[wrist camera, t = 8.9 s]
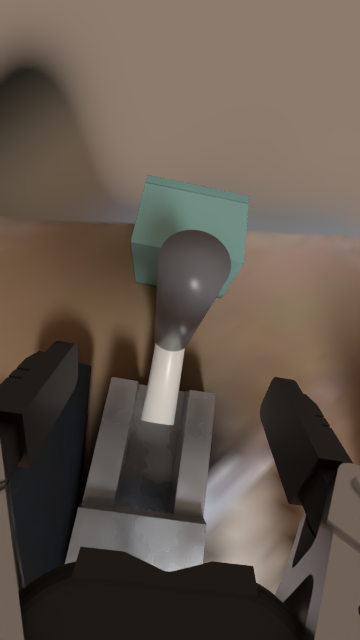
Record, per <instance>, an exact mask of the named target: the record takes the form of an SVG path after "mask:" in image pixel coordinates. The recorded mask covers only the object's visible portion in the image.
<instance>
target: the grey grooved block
mask: <svg viewBox="0 0 360 640" xmlns="http://www.w3.org/2000/svg"><path fill="white" fill-rule="evenodd" d="M146 391H147V385H141V384H140V383H139V382H138V381H134V380H128V379H122V378H116V377H112V378H111V382H110V386H109V390H108V395H107V399H106V403H105V407H104V412H103V416H102V420H101V425H100V429H99V433H98V437H97V442H96V446H95V450H94V454H93V459H92V463H91V467H90V471H89V476H88V480H87V484H86V488H85V493H84V497H83V501H82V503H81V504H80V506H79V507H78V510H77V515H76V519H75V523H74V527H73V531H72V536H71V540H70V544H69V548H68V552H67V557H66V561H65V564H67V563H71V562H75V561H76V560H77V557H78V554H79V550H80V547H89V548H98V549H107V550H116V551H124V552H126V553H128V554H131V555H133V556H135V557H137V558H139V559H141V560H143V561H145V562H147V563H149V564H151V565H153V566H156V567H158V568H160V569H162V570H164V571H168V572H171V571H176V570H180V569H184V568H188V567H192V566H196V565H200V564H203V555H204V545H205V535H206V523H205V520H204V518H203V517H204V507H205V497H206V487H207V477H208V467H209V457H210V447H211V437H212V427H213V417H214V407H215V397H216V394H213V393H207V392H201V391H195V390H188V391H185V392H183V391H179V392H178V399H177V405H176V412H175V419H174V425H165V424H158V423H152V422H147V421H143V420H141V417H142V412H143V407H144V401H145V396H146Z"/></svg>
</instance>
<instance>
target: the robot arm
mask: <svg viewBox="0 0 360 640" xmlns="http://www.w3.org/2000/svg"><path fill="white" fill-rule="evenodd" d="M77 379H78V345H77V344H74V343H68V342H62V341H55V342H54V343H53V344H52V346H51V347H50V348H49V349H48V350H47V351H46V352H41V351H39V352H37V353H35V354H33V355H31V356H29V357H27V358H26V359H25V360H24V361H23V362H22V363H21V364H20V365H19V366H18V367H17V369H16V370H14V371H13V372H12V373H11V374H10V375H9V378H6V379H5V380H4V381H3V382H2V383H1V384H0V640H360V466H358V465H356V464H353V462H352V461H351V459H350V457H349V456H348V454H347V453H346V451H345V449H344V448H343V446H342V445H341V443H340V441H339V440H338V438H337V436H336V435H335V433H334V432H333V430H332V428H330V427H329V426H330V425H329V424H328V422H327V420H326V419H325V418H324V416H323V414H322V412H321V411H320V409H319V408H318V406H317V405H316V404H315V403H314V402H313V401H312V400H311V399H310V398H309V397H308V396H307V395H306V394H303V393H302V391H301V389H300V388H299V386H298V384H297V383H296V381H294V380H291V379H285V378H278V377H275V378H273V379H272V381H271V383H270V386H269V388H268V390H267V393H266V395H265V397H264V399H263V402H262V404H261V408H260V418H261V422H262V425H263V428H264V431H265V434H266V437H267V440H268V443H269V446H270V449H271V452H272V455H273V458H274V461H275V464H276V467H277V470H278V473H279V476H280V479H281V482H282V485H283V488H284V491H285V494H286V497H287V500H288V503H289V504H294V505H302V506H303V508H304V510H305V514H304V515H303V517H302V519H301V522H300V526H299V529H298V532H297V536H296V539H295V542H294V546H293V549H292V552H291V556H290V559H289V562H288V566H287V569H286V572H285V574H284V577H283V579H282V581H281V583H280V585H279V587H278V589H277V591H276V593H275V595H274V594H273V593H271V592H270V591H269V590H267V589H266V588H264V587H263V586H261V585H260V584H258V583H256V580H255V574H254V569H253V566H247V565H238V564H229V563H220V562H208V563H204V564H200V565H196V566H192V567H188V568H184V569H180V570H176V571H171V572H168V571H164V570H162V569H160V568H158V567H156V566H153V565H151V564H149V563H147V562H145V561H143V560H141V559H139V558H137V557H135V556H133V555H131V554H128V553H126V552H124V551H116V550H107V549H98V548H89V547H80V550H79V554H78V557H77V560H76V561H75V562H71V563H67V564H64V565H62V566H59V567H56V568H54V569H52V570H50V571H48V572H47V573H45V574H43V575H41V576H40V577H38V578H37V579H35V580H34V581H32V582H31V583H30V584H28V585H27V586H26V587H25V585H24V578H23V571H22V565H21V559H20V553H19V546H18V540H17V533H16V526H15V519H14V511H13V504H12V497H11V490H10V483H9V478H10V477H11V475H12V473H13V472H14V470H15V469H16V467H23V468H30V466H31V465H32V463H33V461H34V459H35V458H36V456H37V454H38V452H39V451H40V449H41V447H42V445H43V444H44V442H45V440H46V438H47V437H48V435H49V433H50V431H51V429H52V428H53V426H54V424H55V422H56V421H57V419H58V417H59V415H60V414H61V412H62V410H63V408H64V407H65V405H66V403H67V401H68V400H69V398H70V396H71V394H72V393H73V391H74V389H75V386H76V383H77Z"/></svg>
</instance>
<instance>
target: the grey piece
mask: <svg viewBox="0 0 360 640" xmlns="http://www.w3.org/2000/svg"><path fill="white" fill-rule="evenodd" d="M230 271H231V259H230V255H229V253H228V251H227V249H226V247H225V246H224V244H223V243H222V242H221V241H220V240H219V239H217V238H216V237H215V236H213V235H211V234H209V233H207V232H204V231H200V230H184V231H180V232H177V233H175V234H173V235H171V236H170V237H169V238H168V239H167V240H166V241H165V242H164V243H163V245H162V246H161V248H160V251H159V256H158V273H157V294H156V315H155V336H154V343H155V348H154V353H153V359H152V364H151V369H150V375H149V380H148V385H147V391H146V396H145V401H144V407H143V412H142V417H141V420H143V421H147V422H152V423H158V424H165V425H174V419H175V412H176V405H177V399H178V392H179V385H180V378H181V372H182V365H183V358H184V351H185V347H186V346H187V344H188V343H189V341H190V339H191V338H192V336H193V334H194V333H195V331H196V329H197V328H198V326H199V325H200V323H201V321H202V320H203V318H204V316H205V315H206V313H207V311H208V310H209V308H210V307H211V305H212V303H213V302H214V300H215V298H216V297H217V295H218V293H219V292H220V290H221V289H222V287H223V285H224V284H225V282H226V280H227V279H228V277H229V274H230Z"/></svg>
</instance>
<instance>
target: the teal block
mask: <svg viewBox="0 0 360 640" xmlns="http://www.w3.org/2000/svg"><path fill="white" fill-rule="evenodd" d="M248 202H249V196H247V195H242V194H237V193H232V192H227V191H222V190H218V189H213V188H208V187H204V186H199V185H194V184H189V183H184V182H179V181H175V180H170V179H165V178H160V177H156V176H151V175H147V180H146V183H145V187H144V191H143V195H142V199H141V203H140V207H139V211H138V215H137V218H136V222H135V226H134V230H133V234H132V238H131V249H132V257H133V265H134V273H135V280H136V283H141V284H146V285H152V286H157V273H158V256H159V251H160V248H161V246H162V245H163V243H164V242H165V241H166V240H167V239H168V238H169V237H170V236H171V235H173V234H175V233H177V232H180V231H184V230H200V231H204V232H207V233H209V234H211V235H213V236H215V237H216V238H217V239H219V240H220V241H221V242H222V243H223V244H224V246H225V247H226V249H227V251H228V253H229V255H230V259H231V271H230V274H229V277H228V279H227V280H226V282H225V284H224V285H223V287H222V289H221V290H220V292H219V293H218V295H217V297H216V298H221V297H222V296H223V294H224V293H225V291H226V290H227V288H228V287H229V285H230V284H231V282H232V280H233V279H234V277H235V276H236V274H237V273H238V271H239V270H240V268H241V267H242V265H243V264H244V253H245V240H246V227H247V215H248Z"/></svg>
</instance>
